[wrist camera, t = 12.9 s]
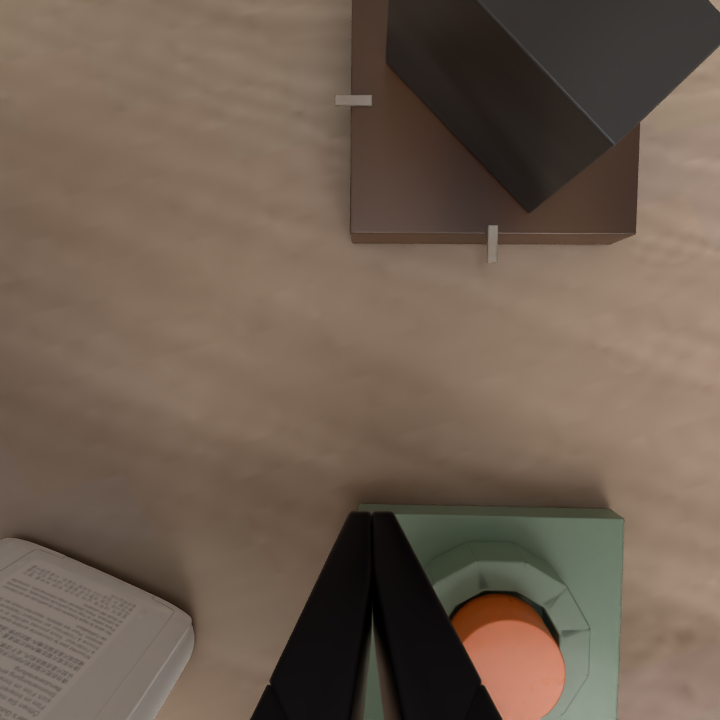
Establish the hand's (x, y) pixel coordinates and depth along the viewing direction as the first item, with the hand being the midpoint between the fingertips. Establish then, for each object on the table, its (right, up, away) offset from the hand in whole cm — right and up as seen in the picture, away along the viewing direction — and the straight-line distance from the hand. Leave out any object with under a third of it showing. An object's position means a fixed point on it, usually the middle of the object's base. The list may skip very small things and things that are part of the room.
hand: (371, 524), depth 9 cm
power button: (+5, -8, +9) cm, 13 cm away
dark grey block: (+5, +13, +9) cm, 17 cm away
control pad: (+5, -8, +12) cm, 15 cm away
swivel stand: (+5, +13, +11) cm, 18 cm away
